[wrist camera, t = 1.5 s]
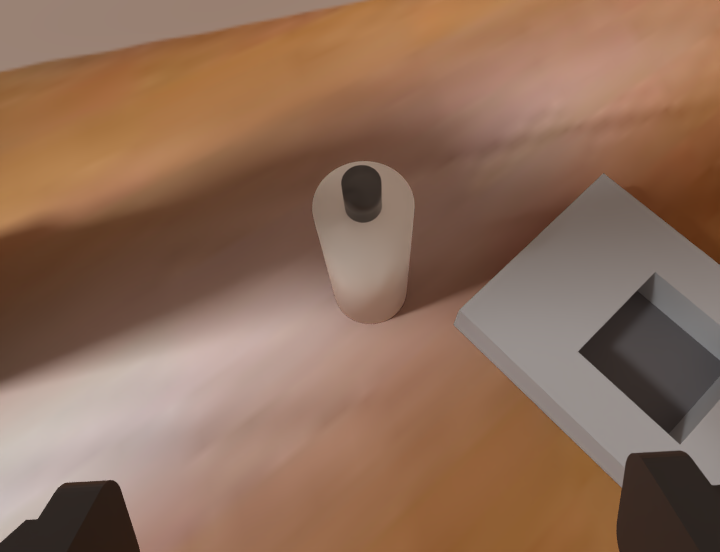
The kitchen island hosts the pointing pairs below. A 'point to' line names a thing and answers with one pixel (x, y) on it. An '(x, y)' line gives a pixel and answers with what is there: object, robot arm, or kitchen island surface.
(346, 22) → the kitchen island surface
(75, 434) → the kitchen island surface
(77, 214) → the kitchen island surface
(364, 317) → the plug
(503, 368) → the socket
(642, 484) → the robot arm
